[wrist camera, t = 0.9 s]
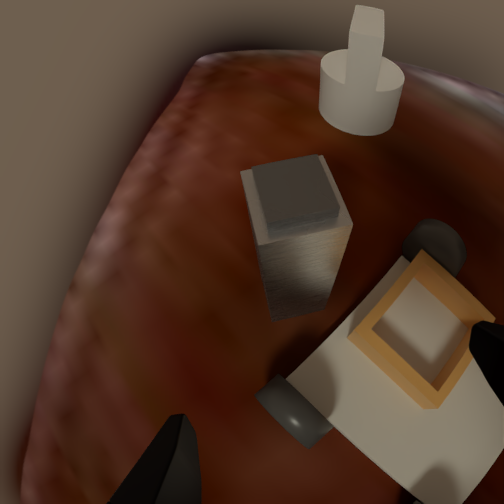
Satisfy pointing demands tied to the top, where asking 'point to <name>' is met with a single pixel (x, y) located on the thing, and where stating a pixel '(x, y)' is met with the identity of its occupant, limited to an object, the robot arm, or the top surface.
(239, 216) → the top surface
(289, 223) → the grey box
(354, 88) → the base with upright slab
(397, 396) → the chassis
